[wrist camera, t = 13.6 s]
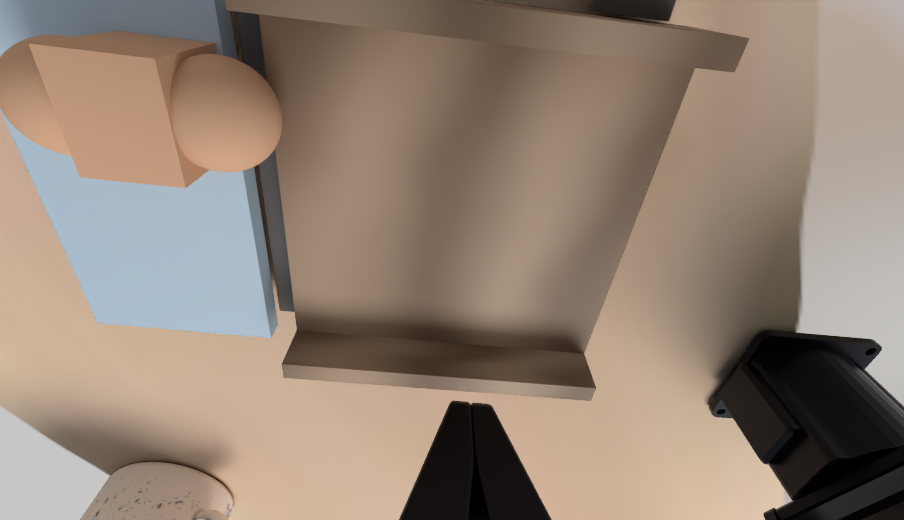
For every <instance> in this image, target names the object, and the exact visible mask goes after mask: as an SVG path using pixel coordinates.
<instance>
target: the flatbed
mask: <svg viewBox="0 0 904 520" xmlns="http://www.w3.org/2000/svg"><path fill="white" fill-rule="evenodd" d="M675 1H676V0H592V3H591V7H590V10H591V11H597V12H603V13H610V14H617V15H624V16H631V17H639V18H647V19H655V20H664V21H669V19H670V16H671V13H672V10H673V7H674V4H675ZM225 5H226V10H228V11H236V13H237V20H238V27H239V34H240V40H241V47H242V54H243V61H244V63H245V64H246V65H248V66H250V67H251V68H253V69H254V70H255V71H257V72H258V73H259V74H260V75H261V76H262V77H263V78H264V79H265V80H266V81H267V83H268V84H269V85H270V87H271V88H272V89H273V91H274V93H275V95H276V97H277V99H278V102H279V105H280V108H281V113H282V132H281V136H280V139H279V141H278V144H277V146H276V148H275V149H274V151H273V152H272V153H271V154H270V155H269V157H268V158H267V159H265V160H264V161H263V162H261V163H260V164H259V171H260V178H261V184H262V191H263V198H264V205H265V212H266V219H267V226H268V233H269V239H270V246H271V253H272V260H273V267H274V274H275V281H276V287H277V294H278V301H279V308H280V311H292V312H295V318H296V326H297V331H296V334H295V336H294V338H293V340H292V343H291V345H290V347H289V349H288V352H287V354H286V356H285V358H284V360H283V363H282V369H283V375H284V378H294V379H307V380H321V381H334V382H347V383H360V384H374V385H387V386H400V387H414V388H427V389H440V390H454V391H467V392H480V393H493V394H507V395H520V396H533V397H547V398H560V399H573V400H587V401H591V399H592V397H593V394H594V392H595V390H596V387H595V384H594V381H593V378H592V375H591V372H590V370H589V367H588V364H587V361H586V358H585V355H584V352H585V350H586V347H587V344H588V342H589V339H590V337H591V334H592V332H593V329H594V326H595V324H596V321H597V319H598V316H599V314H600V311H601V308H602V306H603V303H604V301H605V298H606V296H607V293H608V290H609V288H610V285H611V283H612V280H613V278H614V275H615V272H616V270H617V267H618V265H619V262H620V259H621V257H622V254H623V252H624V249H625V247H626V244H627V241H628V239H629V236H630V234H631V231H632V229H633V226H634V223H635V221H636V218H637V216H638V213H639V211H640V208H641V205H642V203H643V200H644V198H645V195H646V193H647V190H648V187H649V185H650V182H651V180H652V177H653V175H654V172H655V169H656V167H657V164H658V162H659V159H660V157H661V154H662V151H663V149H664V146H665V144H666V141H667V138H668V136H669V133H670V131H671V128H672V126H673V123H674V120H675V118H676V115H677V113H678V110H679V108H680V105H681V102H682V100H683V97H684V95H685V92H686V90H687V87H688V84H689V82H690V79H691V77H692V74H693V72H694V69H695V68H702V69H711V70H719V71H727V72H735V70H736V68H737V65H738V63H739V61H740V58H741V56H742V54H743V52H744V49H745V47H746V45H747V42H748V40H749V38H745V37H739V36H734V35H729V34H724V33H719V32H713V31H708V30H703V29H698V28H693V27H687V26H680V25H673V24H665V23H657V22H649V21H641V20H634V19H626V18H618V17H610V16H602V15H594V14H587V13H579V12H571V11H563V10H555V9H548V8H540V7H532V6H524V5H516V4H508V3H501V2H493V1H485V0H225Z"/></svg>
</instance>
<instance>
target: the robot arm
mask: <svg viewBox="0 0 904 520" xmlns="http://www.w3.org/2000/svg"><path fill="white" fill-rule="evenodd" d="M881 350H882V347H881V346H880V345H879V344H878V343H876V342H875V341H874V340H872V339H862V338H851V337H839V336H828V335H816V334H804V333H793V332H781V331H764V332H761V333H760V334H758V335H757V336H756V337H755V339H754V340H753V342H752V343H751V345H750V346H749V348H748V349H747V351H746V352H745V354H744V355H743V357H742V358H741V360H740V361H739V363H738V364H737V366H736V367H735V368H734V370H733V371H732V373H731V374H730V376H729V377H728V379H727V380H726V382H725V383H724V385H723V386H722V388H721V389H720V391H719V392H718V394H717V395H716V397H715V398H714V399H713V401H712V402H711V404H710V405H709V410H710V411H711V413H712V415H713V416H715V417H722V418H734V420H735V422H736V423H737V425H738V426H739V428H740V429H741V431H742V432H743V434H744V436H745V437H746V439H747V440H748V442H749V443H750V445H751V446H752V448H753V450H754V451H755V453H756V454H757V456H758V457H759V459H760V460H761V462H762V463H764V464H769V466H770V467H771V469H772V470H773V472H774V473H775V475H776V476H777V478H778V479H779V481H780V482H781V484H782V486H783V487H784V489H785V490H786V492H787V493H788V495H789V496H790V498H791V499H792V500H793V501H792V502H790V503H788V504H786V505H784V506H782V507H780V508H778V509H775V508H772V509H770V510H769V511H767V512H765V513H764V517H765V520H904V406H903V405H902V404H901V403H899V402H898V401H897V400H896V399H895V398H894V397H893V396H892V395H891V394H890V393H889V392H888V391H887V390H886V389H885V388H884V387H882V386H881V385H880V384H879V383H878V382H877V381H876V380H875V379H874V378H873V377H872V376H871V375H870V374H869V373H868V372H867V371H866V370H865V368H866V367H867V366H868V365H869V364H870V363H871V362H872V360H873V359H874V358H875V357H876V356H877V355H878V354H879V352H880V351H881ZM399 520H551V518H550V516H549V514H548V512H547V510H546V508H545V506H544V504H543V502H542V501H541V499H540V497H539V495H538V493H537V491H536V489H535V487H534V485H533V483H532V481H531V480H530V478H529V476H528V474H527V472H526V470H525V468H524V466H523V464H522V462H521V460H520V459H519V457H518V455H517V453H516V451H515V449H514V447H513V445H512V443H511V441H510V439H509V438H508V436H507V434H506V432H505V430H504V428H503V426H502V424H501V422H500V420H499V418H498V417H497V415H496V413H495V411H494V409H493V407H492V406H491V405H489V404H482V403H472V404H471V405H470V403H468V402H461V401H452V402H451V403H450V404H449V406H448V409H447V411H446V413H445V416H444V418H443V420H442V422H441V425H440V427H439V429H438V432H437V434H436V436H435V438H434V441H433V443H432V445H431V448H430V450H429V452H428V455H427V457H426V459H425V461H424V464H423V466H422V468H421V471H420V473H419V475H418V477H417V480H416V482H415V484H414V487H413V489H412V491H411V493H410V496H409V498H408V500H407V503H406V505H405V507H404V509H403V512H402V514H401V516H400V519H399Z"/></svg>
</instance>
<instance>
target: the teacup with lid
mask: <svg viewBox="0 0 904 520" xmlns="http://www.w3.org/2000/svg"><path fill="white" fill-rule="evenodd" d="M233 511H234V501H233V498H232V496H231V494H230V493H229V491H228V490H227V489H226V488H225V487H224V486H223V485H222V484H221V483H220V482H218V481H217V480H215V479H214V478H212V477H211V476H209V475H207V474H205V473H203V472H200V471H198V470H195V469H192V468H189V467H186V466H182V465H177V464H172V463H164V462H142V463H136V464H131V465H128V466H125V467H123V468H121V469H119V470H117V471H116V472H114V473H113V474H112V475H111V476H110V477H109V479H108V480H107V482H106V483H105V484H104V486H103V487H102V489H101V490H100V492H99V493H98V494H97V496H96V497H95V499H94V500H93V502H92V503H91V505H90V506H89V507H88V509H87V510H86V512H85V513H84V515H83V516H82V518H81V519H80V520H230V519H231V516H232V514H233Z"/></svg>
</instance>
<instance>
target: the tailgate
mask: <svg viewBox="0 0 904 520" xmlns="http://www.w3.org/2000/svg"><path fill="white" fill-rule="evenodd" d="M116 30H117V31H125V32H133V33H141V34H149V35H157V36H165V37H173V38H181V39H189V40H197V41H205V42H213V43H215V45H216V51H217V55H223V56H228V57H231V58H234V59H236V60H238V58H237V52H236V45H235V39H234V32H233V26H232V19H231V13H230V11H228V10H226V5H225V0H0V57H1V56H2V54H3V53H4V52H5V51H6V50H7V49H8V48H10V47H11V46H12V45H14V44H16V43H18V42H20V41H22V40H24V39H27V38H30V37H34V36H40V35H63V36H69V37H76V36H82V35H89V34H96V33H102V32H109V31H116ZM0 111H1V109H0ZM1 114H2V116H3V118H4V120H5V122H6V124H7V127H8V129H9V131H10V133H11V135H12V138H13V140H14V142H15V144H16V146H17V148H18V151H19V153H20V155H21V157H22V159H23V161H24V164H25V166H26V168H27V170H28V172H29V175H30V177H31V179H32V181H33V183H34V185H35V188H36V190H37V192H38V194H39V196H40V199H41V201H42V203H43V205H44V207H45V209H46V212H47V214H48V216H49V218H50V220H51V223H52V225H53V227H54V229H55V231H56V233H57V236H58V238H59V240H60V242H61V244H62V247H63V249H64V251H65V253H66V255H67V257H68V260H69V262H70V264H71V266H72V268H73V270H74V273H75V275H76V277H77V279H78V281H79V284H80V286H81V288H82V290H83V292H84V294H85V297H86V299H87V301H88V303H89V305H90V308H91V310H92V312H93V314H94V316H95V318H96V321H97V323H102V324H113V325H125V326H137V327H148V328H160V329H172V330H184V331H195V332H207V333H219V334H231V335H242V336H254V337H266V338H271V337H272V335H273V333H274V331H275V329H276V327H277V325H278V321H277V314H276V308H275V301H274V295H273V288H272V282H271V275H270V269H269V262H268V255H267V249H266V242H265V236H264V229H263V223H262V216H261V209H260V203H259V196H258V190H257V183H256V177H255V170H254V167H252V168H250V169H247V170H243V171H239V172H219V171H213V170H208V171H207V172H206V173H205V174H203V175H202V176H201V177H200V178H198V179H197V180H196V181H194V182H193V183H192V184H191V185H189V186H188V187H187V188H179V187H169V186H159V185H149V184H139V183H130V182H120V181H110V180H100V179H90V178H81V177H79V174H78V172H77V169H76V166H75V164H74V161H73V159H72V156H69V155H64V154H61V153H57V152H54V151H51V150H49V149H46V148H44V147H42V146H40V145H38V144H36V143H35V142H33V141H31V140H30V139H28V138H27V137H25V136H24V135H23V134H21V133H20V132H19V131H18V130H17V129H16V128H15V127H14V126H13V125H12V124H11V123H10V122H9V121H8V120H7V118H6V117H5V116H4V114H3V113H2V111H1Z"/></svg>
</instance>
